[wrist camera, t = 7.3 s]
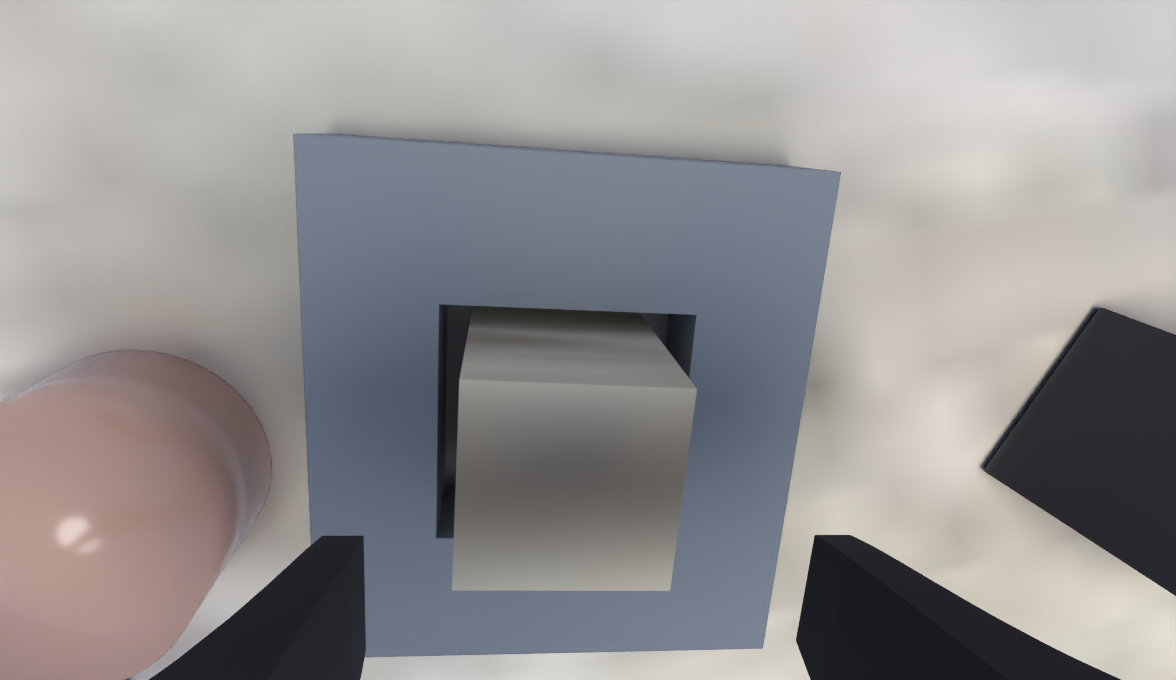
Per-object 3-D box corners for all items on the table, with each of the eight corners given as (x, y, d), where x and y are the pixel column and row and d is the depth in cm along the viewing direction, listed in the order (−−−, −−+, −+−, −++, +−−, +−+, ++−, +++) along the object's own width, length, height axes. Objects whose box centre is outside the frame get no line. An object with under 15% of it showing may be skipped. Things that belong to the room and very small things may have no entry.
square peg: (623, 463, 20) (670, 591, 15) (467, 459, 20) (451, 590, 14) (639, 312, 19) (696, 388, 14) (473, 303, 19) (459, 379, 13)
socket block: (729, 582, 23) (762, 648, 20) (341, 586, 21) (315, 658, 18) (790, 165, 19) (841, 171, 16) (327, 133, 17) (293, 133, 15)
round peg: (278, 561, 21) (210, 690, 16) (40, 563, 20) (-107, 698, 15) (265, 353, 19) (184, 427, 14) (3, 345, 18) (-176, 422, 13)
